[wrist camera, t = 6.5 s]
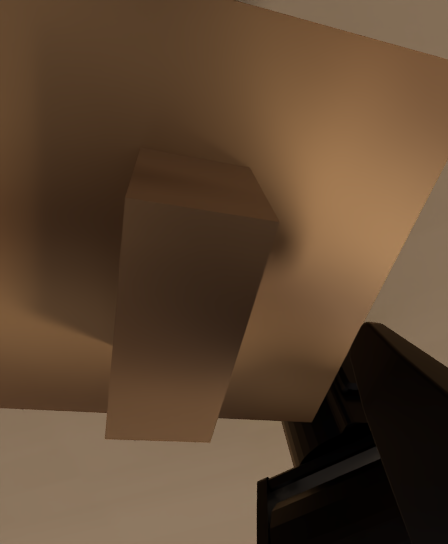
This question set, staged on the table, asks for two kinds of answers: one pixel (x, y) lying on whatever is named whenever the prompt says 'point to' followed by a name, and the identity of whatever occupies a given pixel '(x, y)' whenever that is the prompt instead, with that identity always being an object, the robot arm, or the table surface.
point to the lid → (199, 205)
